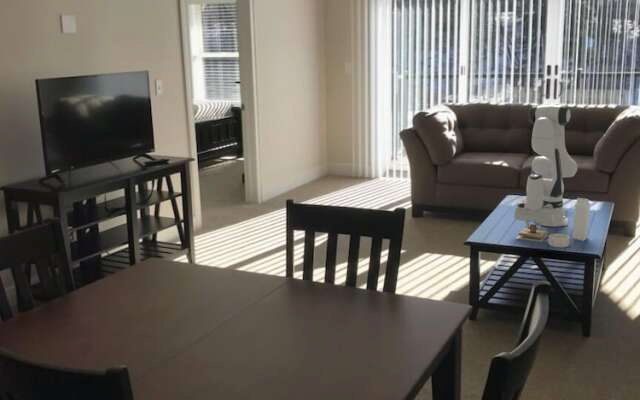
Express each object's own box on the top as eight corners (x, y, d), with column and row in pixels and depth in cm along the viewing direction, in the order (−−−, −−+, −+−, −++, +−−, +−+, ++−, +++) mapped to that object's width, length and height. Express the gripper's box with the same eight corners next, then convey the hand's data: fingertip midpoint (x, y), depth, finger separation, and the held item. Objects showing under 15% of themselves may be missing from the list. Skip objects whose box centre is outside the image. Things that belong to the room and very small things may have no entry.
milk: (576, 236, 373) (578, 196, 368) (587, 238, 369) (590, 198, 364) (572, 239, 368) (575, 198, 363) (584, 240, 364) (587, 200, 360)
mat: (522, 232, 381) (522, 232, 381) (548, 236, 374) (548, 235, 374) (514, 238, 370) (515, 238, 370) (541, 242, 363) (541, 241, 362)
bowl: (551, 242, 364) (551, 232, 363) (570, 244, 359) (571, 235, 358) (546, 246, 356) (547, 237, 354) (566, 249, 351) (567, 239, 350)
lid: (524, 229, 380) (525, 220, 379) (547, 232, 374) (547, 223, 373) (518, 235, 370) (519, 226, 369) (541, 238, 364) (542, 228, 363)
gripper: (555, 205, 365) (554, 230, 369) (517, 201, 376) (516, 225, 379) (553, 207, 360) (551, 233, 364) (513, 204, 370) (512, 228, 374)
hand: (533, 229), depth 371 cm, fingers closed on lid, 3 cm apart
